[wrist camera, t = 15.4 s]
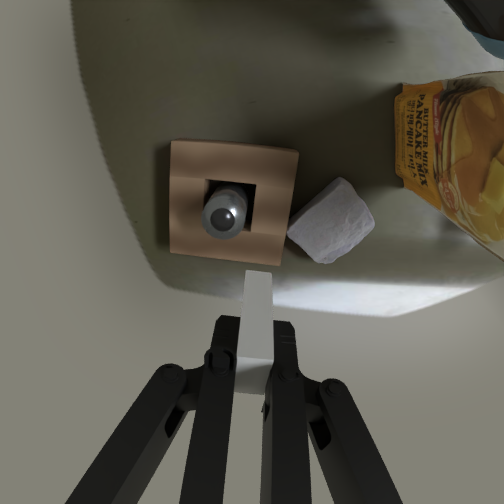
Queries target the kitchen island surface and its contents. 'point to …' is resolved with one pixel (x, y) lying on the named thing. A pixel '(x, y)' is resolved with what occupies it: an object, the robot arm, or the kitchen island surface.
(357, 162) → the kitchen island surface
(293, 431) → the robot arm
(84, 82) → the kitchen island surface
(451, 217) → the pancake mix bag
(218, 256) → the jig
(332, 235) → the stone block
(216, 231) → the cylinder
